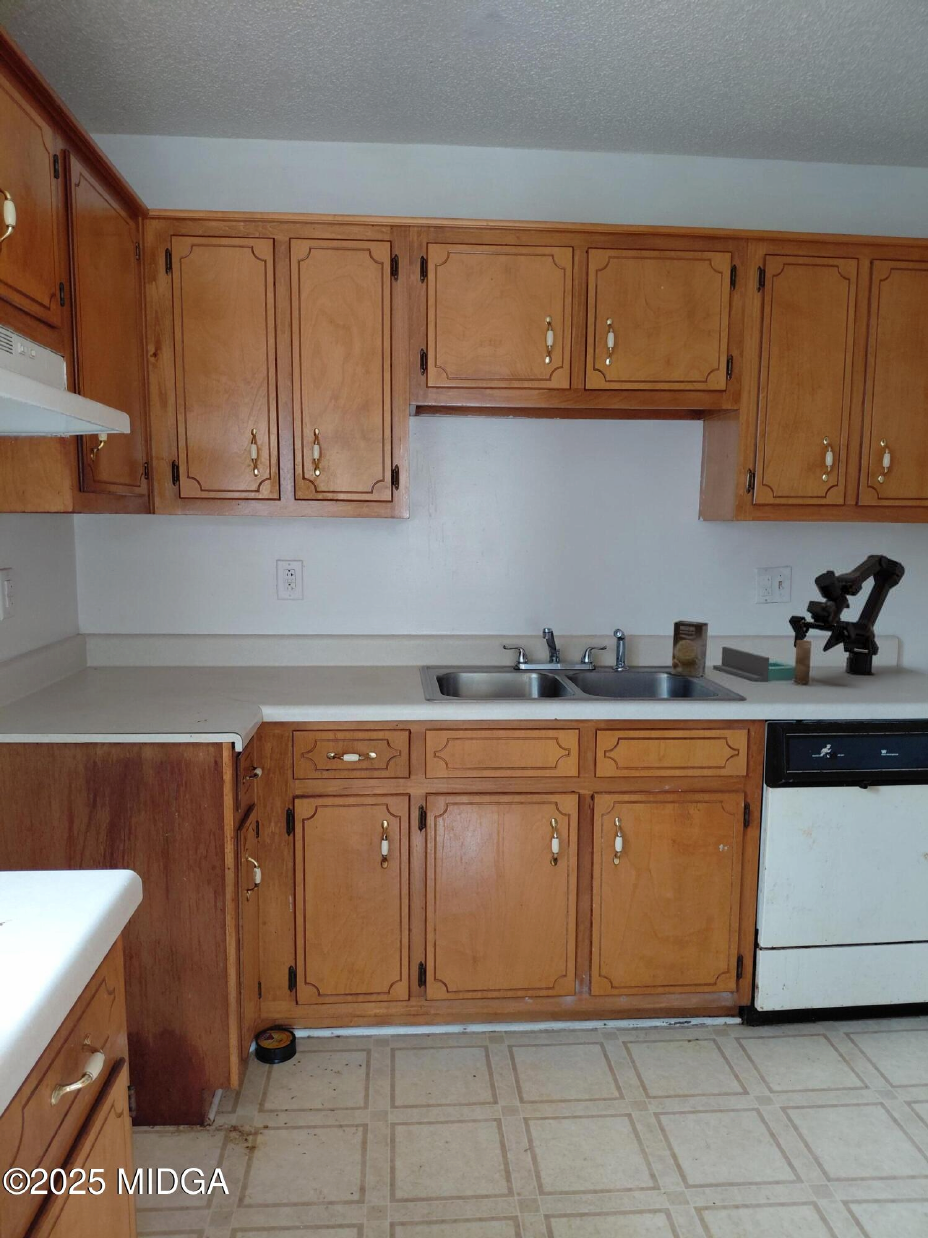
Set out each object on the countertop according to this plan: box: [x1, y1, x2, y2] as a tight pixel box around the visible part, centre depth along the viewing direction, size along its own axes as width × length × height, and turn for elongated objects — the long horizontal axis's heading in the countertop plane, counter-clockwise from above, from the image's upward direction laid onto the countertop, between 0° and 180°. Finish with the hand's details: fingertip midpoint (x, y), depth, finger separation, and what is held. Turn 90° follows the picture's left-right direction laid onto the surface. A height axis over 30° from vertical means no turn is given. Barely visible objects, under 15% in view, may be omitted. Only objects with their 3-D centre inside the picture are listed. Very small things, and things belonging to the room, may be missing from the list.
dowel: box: [793, 639, 812, 685], centre depth 251 cm, size 4×4×12 cm
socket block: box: [767, 661, 795, 682], centre depth 262 cm, size 11×11×4 cm
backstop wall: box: [712, 646, 770, 683], centre depth 265 cm, size 5×22×7 cm, turn 16°
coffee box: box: [670, 619, 709, 678], centre depth 264 cm, size 9×6×16 cm
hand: (809, 648), depth 253 cm, fingers open, 9 cm apart
